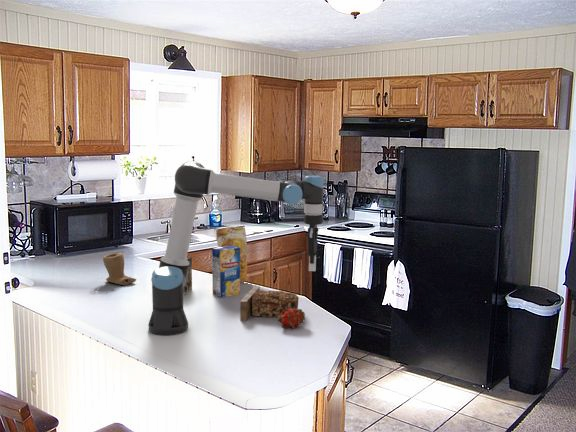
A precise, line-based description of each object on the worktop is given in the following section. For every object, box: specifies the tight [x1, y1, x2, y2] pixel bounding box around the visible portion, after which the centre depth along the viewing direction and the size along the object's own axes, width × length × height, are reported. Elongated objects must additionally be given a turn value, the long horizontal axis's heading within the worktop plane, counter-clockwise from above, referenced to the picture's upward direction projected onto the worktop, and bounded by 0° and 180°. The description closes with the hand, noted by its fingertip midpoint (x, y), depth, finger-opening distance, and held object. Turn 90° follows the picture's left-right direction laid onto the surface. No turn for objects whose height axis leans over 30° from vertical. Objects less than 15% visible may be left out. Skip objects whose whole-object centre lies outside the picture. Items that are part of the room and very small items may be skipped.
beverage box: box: [211, 245, 241, 298], centre depth 288 cm, size 7×11×22 cm, turn 129°
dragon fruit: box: [277, 307, 306, 330], centre depth 243 cm, size 8×8×12 cm
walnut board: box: [239, 286, 261, 322], centre depth 262 cm, size 24×2×8 cm, turn 170°
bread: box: [252, 290, 299, 319], centre depth 259 cm, size 19×11×10 cm, turn 83°
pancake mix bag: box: [215, 225, 248, 283], centre depth 310 cm, size 7×19×28 cm, turn 129°
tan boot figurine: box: [102, 252, 137, 286], centre depth 307 cm, size 15×12×15 cm
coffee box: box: [183, 256, 193, 296], centre depth 291 cm, size 9×6×16 cm
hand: (312, 270), depth 254 cm, fingers closed
